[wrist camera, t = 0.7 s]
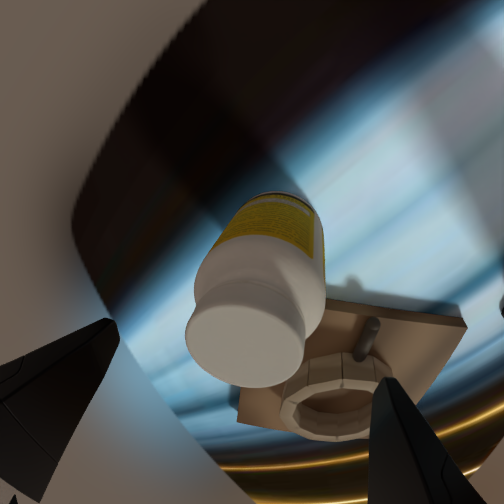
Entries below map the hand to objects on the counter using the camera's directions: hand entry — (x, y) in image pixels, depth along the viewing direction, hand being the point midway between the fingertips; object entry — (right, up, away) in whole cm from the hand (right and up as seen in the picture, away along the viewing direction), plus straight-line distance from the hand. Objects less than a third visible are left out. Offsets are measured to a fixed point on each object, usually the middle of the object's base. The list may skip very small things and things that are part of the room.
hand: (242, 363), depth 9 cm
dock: (+8, -7, +14) cm, 17 cm away
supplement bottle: (+2, +5, +9) cm, 11 cm away
